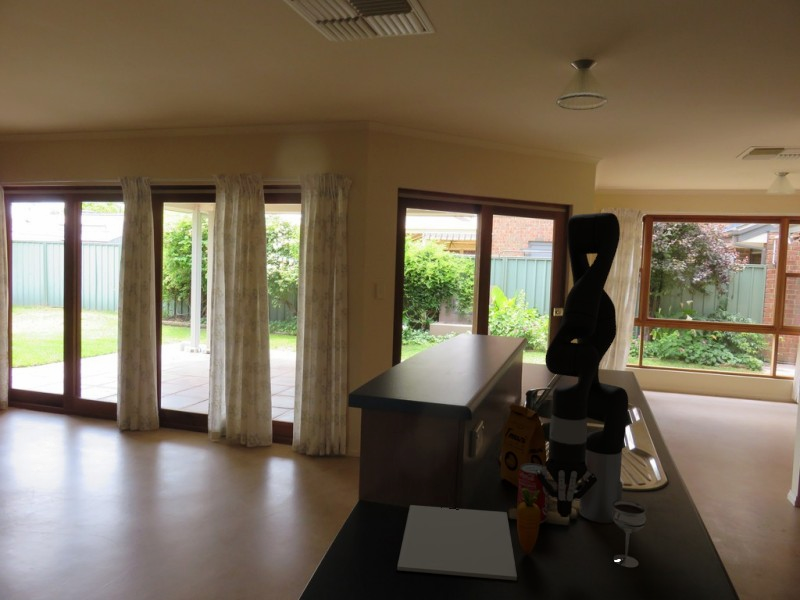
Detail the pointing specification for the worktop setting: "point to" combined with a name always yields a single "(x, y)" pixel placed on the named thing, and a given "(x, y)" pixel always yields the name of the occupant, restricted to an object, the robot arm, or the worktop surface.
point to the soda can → (533, 487)
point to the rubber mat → (457, 543)
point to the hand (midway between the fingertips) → (563, 515)
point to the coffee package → (521, 442)
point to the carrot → (528, 521)
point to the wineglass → (628, 525)
